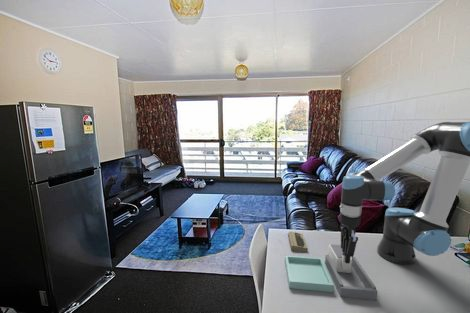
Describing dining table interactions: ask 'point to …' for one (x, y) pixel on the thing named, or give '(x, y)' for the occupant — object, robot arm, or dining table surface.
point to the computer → (297, 241)
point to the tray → (308, 274)
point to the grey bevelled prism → (337, 257)
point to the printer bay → (353, 292)
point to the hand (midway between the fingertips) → (345, 268)
